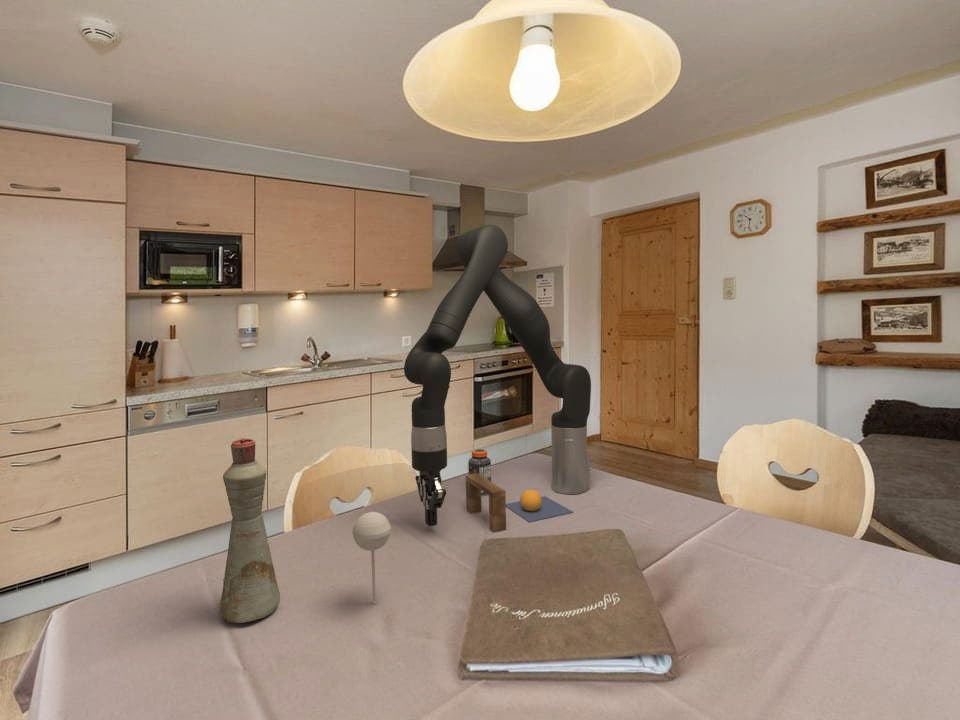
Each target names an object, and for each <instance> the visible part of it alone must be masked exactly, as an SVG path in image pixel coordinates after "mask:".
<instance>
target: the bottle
mask: <svg viewBox="0 0 960 720" xmlns="http://www.w3.org/2000/svg"><path fill="white" fill-rule="evenodd" d="M230 448H231V457H232V463H231V465H230V466H229V467H228V468H227V469H226V471H224V473H223V476H222V479H223V484H224V486H225V491H226V495H227V501H228V504H229V507H230V509H229V510H230V513H231V517H232V518H231V523H230V524H231V525H230V534H229V541H228V548H227V556H226V561H225V562H226V563H225V571H224V578H223V579H222V581H223V582H222V583H223V585H222V591H221V592H222V593H221V597H220V603H219V605H220V606H219V612H220V615H221V617H223V621H225V622H226V623H231V624H245V623H248V622H253V621H257V620H261V619H264V618H265V617H267V616H270V615H273V614H274V612H275V610H276V609H277V607H278V605H279V604H280V602H281V601H280V600H281V594H280V593H281V592H280V590H279V589H280V588H279V585H278V581H277V577H276V573H275V568H274V567H275V566H274V563H273V558H272V554H271V550H270V545H269V539H268V535H267V530H266V526H265V522H264V517H263V513H262V510H263V503H264V502H263V501H264V495H265V492H264V491H265V487H266V486H265V485H266V481H267V480H266V479H267V469H266V467H265V466H264V465H262V464H261V463H260V462H258V460H257V459H256V441H255V440H254V439H252V438H245V437H242V438H241V439H237V440H234V441H232V443H231V445H230Z"/></svg>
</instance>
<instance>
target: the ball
mask: <svg viewBox="0 0 960 720" xmlns="http://www.w3.org/2000/svg"><path fill="white" fill-rule="evenodd" d="M541 497H542V496H541V495H540V493H539V492H538V491H537V490H534V489H527V490H525V491H523V493H522V494H521V496H520V499H519V501H520V502H521V505H522V507H523V508H524V509H525V510H527V511H531V512H532V511H536V510H537V509H539V507H540V506H541V503H542V499H541Z"/></svg>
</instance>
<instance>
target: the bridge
mask: <svg viewBox="0 0 960 720" xmlns="http://www.w3.org/2000/svg"><path fill="white" fill-rule="evenodd" d="M481 491H483V492H484V493H486V494H487V495H486V496H488V509H489V510H488V513H489V514H488V517H489V530H490V531H491V532H492V533H499V532H502V531H506V530H507V510H506V509H507V507H506V504H507V503H506V500H507V499H506V489H504V488H502V487H501V486H499V485H497V484H496V483H494V482H492V480H491V481H489V480H487V479H486V478H484V477H483V476H481V475H479V474H478V473H476V474H469V473H468V474H465V497H466V498H465V499H466V500H465V501H466V503H465V504H466V506H465V507H466V512H467V513H468V514H476V513H480V512H482V496H481Z"/></svg>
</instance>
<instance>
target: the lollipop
mask: <svg viewBox="0 0 960 720" xmlns="http://www.w3.org/2000/svg"><path fill="white" fill-rule="evenodd" d="M352 528H353V529H352V537H353V539H354V542H355V544H356V545H357V546H358V547H359V548H360V549H363V550H365V551H368V552H371V554H370V555H371V578H372V580H371V581H372V582H371V583H372V604H373V605H376V604H377V592H376V589H377V588H376V565H375V564H376V563H375V551H377V550H379V549H382V548H383V547H384V546H385V545H386V543H388V541H389V539H390V536H391V532H392V529H391V528H392V527H391V524H390V521H389V520H388V518H387V517H386V516H385V515H384V514H382V513H380V512H376V511H370V512H366V513H364V514H362V515H361V516H360V517H359V518H358V519H357V520H356V521H355V523H354V525H353V527H352Z"/></svg>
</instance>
